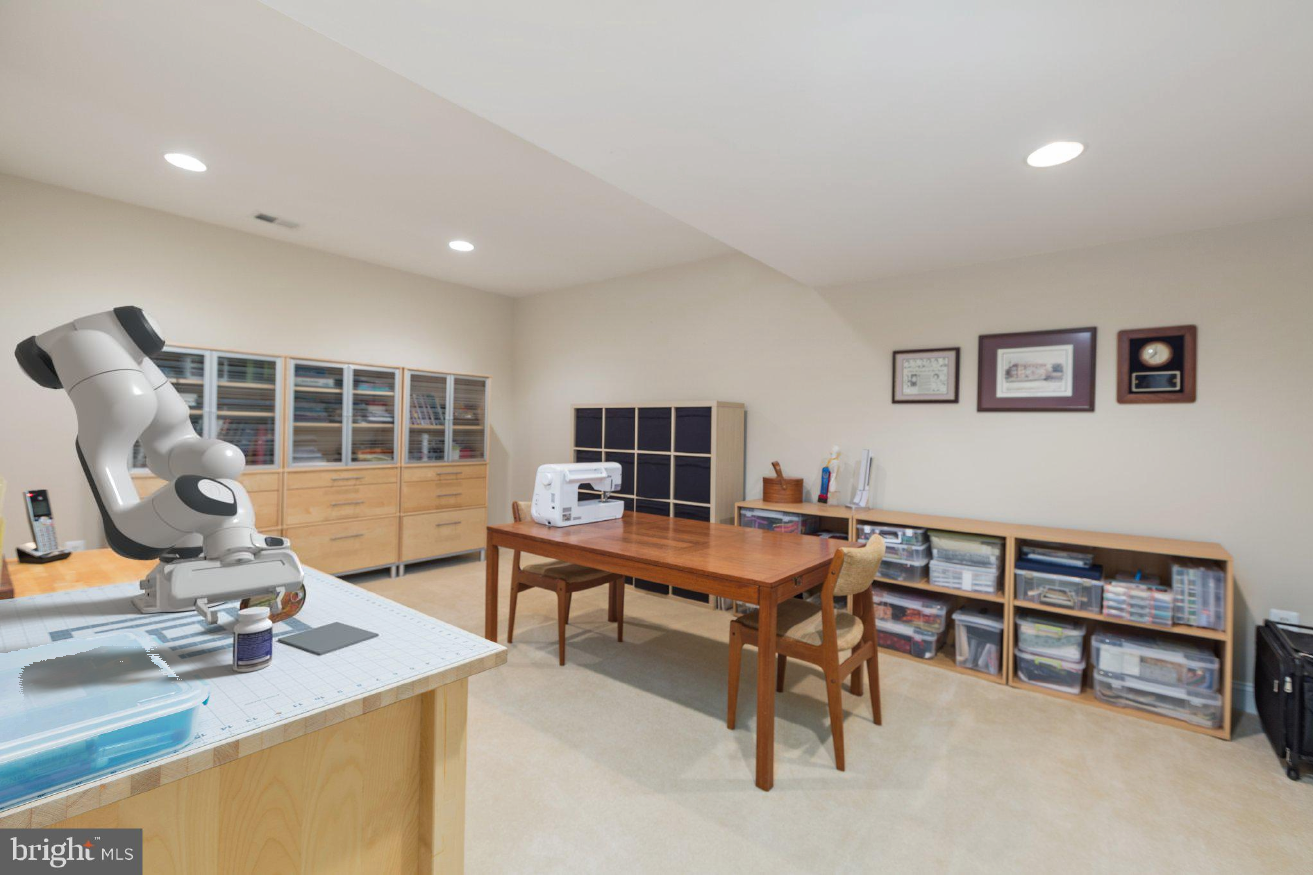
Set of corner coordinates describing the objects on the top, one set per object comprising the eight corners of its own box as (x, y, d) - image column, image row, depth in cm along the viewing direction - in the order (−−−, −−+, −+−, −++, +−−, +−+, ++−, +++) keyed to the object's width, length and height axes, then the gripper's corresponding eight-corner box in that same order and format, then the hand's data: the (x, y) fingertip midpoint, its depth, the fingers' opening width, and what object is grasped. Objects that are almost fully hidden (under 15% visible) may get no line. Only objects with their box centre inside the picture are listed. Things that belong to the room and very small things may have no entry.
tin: (248, 633, 117) (249, 592, 117) (235, 632, 117) (236, 591, 117) (307, 611, 131) (307, 574, 131) (295, 610, 132) (296, 573, 132)
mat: (277, 640, 113) (277, 638, 113) (336, 623, 124) (336, 621, 124) (320, 655, 106) (320, 653, 106) (378, 635, 117) (378, 633, 117)
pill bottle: (279, 662, 103) (280, 607, 102) (247, 675, 97) (249, 616, 97) (256, 658, 104) (257, 603, 104) (224, 670, 99) (225, 612, 99)
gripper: (164, 550, 99) (171, 620, 92) (298, 537, 114) (313, 596, 108) (159, 571, 102) (166, 640, 95) (290, 556, 117) (304, 615, 111)
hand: (245, 617), depth 102 cm, fingers open, 8 cm apart
